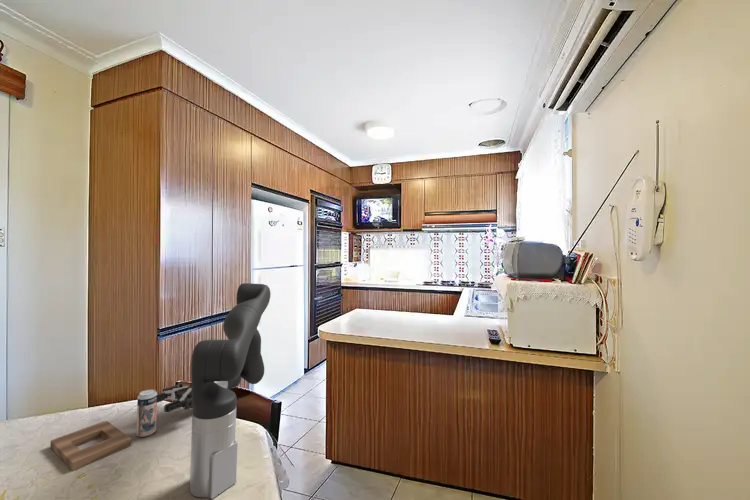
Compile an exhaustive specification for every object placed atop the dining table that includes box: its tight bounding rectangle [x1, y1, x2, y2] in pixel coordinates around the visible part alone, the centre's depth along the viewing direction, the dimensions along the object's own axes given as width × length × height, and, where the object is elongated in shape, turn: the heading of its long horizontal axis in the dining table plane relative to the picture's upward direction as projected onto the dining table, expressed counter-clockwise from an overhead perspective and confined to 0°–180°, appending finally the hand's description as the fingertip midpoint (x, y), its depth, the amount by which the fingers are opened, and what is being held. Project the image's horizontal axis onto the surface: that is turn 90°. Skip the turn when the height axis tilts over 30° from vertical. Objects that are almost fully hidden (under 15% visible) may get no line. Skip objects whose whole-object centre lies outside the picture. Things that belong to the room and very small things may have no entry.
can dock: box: [49, 420, 132, 472], centre depth 86 cm, size 16×12×2 cm
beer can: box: [136, 389, 158, 438], centre depth 93 cm, size 5×5×12 cm
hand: (157, 405), depth 95 cm, fingers open, 8 cm apart
